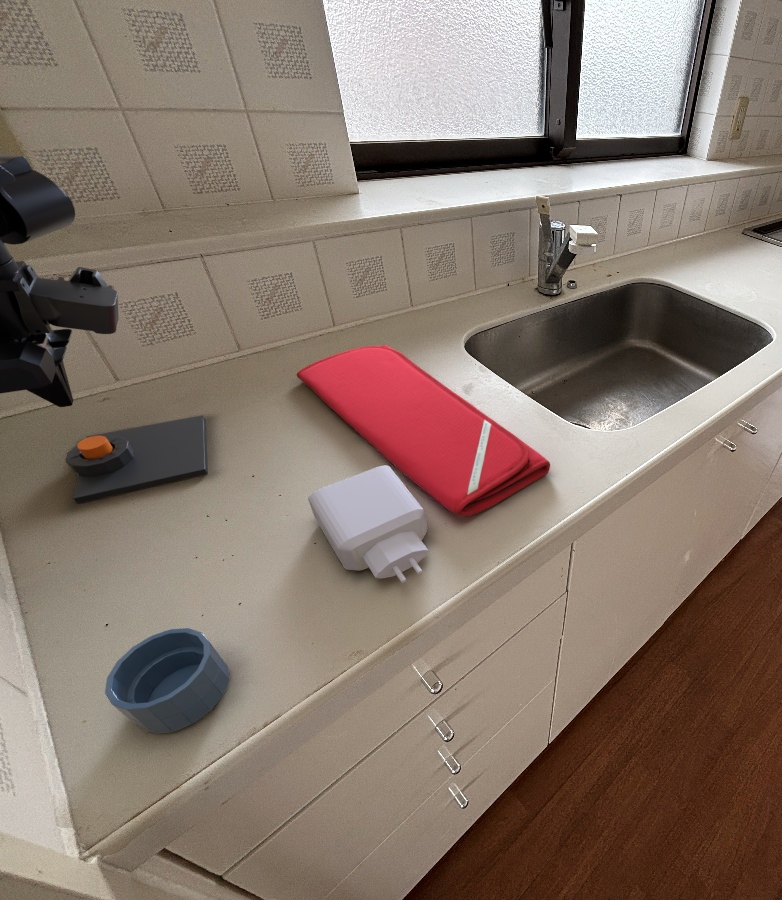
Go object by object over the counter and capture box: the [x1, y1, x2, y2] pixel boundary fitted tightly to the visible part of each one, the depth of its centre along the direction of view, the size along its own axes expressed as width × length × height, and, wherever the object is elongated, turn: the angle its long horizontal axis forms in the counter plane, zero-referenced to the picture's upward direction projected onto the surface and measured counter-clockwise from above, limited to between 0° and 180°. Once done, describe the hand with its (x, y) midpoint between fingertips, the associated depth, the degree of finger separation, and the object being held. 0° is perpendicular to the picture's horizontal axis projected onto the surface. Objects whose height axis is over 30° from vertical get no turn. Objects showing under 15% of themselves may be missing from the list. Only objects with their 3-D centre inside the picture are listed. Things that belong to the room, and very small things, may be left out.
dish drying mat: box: [296, 344, 551, 517], centre depth 71 cm, size 16×41×4 cm, turn 48°
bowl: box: [104, 627, 230, 735], centre depth 40 cm, size 6×6×5 cm
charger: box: [307, 465, 430, 583], centre depth 54 cm, size 5×9×15 cm
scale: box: [64, 414, 209, 505], centre depth 61 cm, size 12×12×2 cm
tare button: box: [76, 435, 113, 459], centre depth 58 cm, size 3×3×2 cm
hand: (67, 404), depth 54 cm, fingers closed
